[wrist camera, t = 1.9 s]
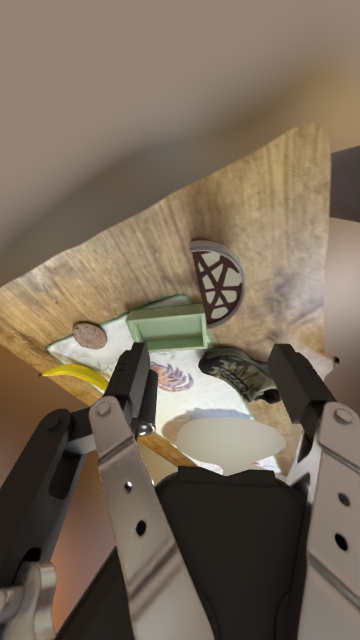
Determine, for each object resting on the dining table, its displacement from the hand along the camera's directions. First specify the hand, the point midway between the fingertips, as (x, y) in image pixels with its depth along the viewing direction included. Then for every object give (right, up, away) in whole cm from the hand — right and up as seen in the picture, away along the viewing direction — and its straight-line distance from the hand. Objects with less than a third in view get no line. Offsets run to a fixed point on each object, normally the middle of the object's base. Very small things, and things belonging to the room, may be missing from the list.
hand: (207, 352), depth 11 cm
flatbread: (-23, -1, +29) cm, 37 cm away
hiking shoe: (+13, -9, +33) cm, 37 cm away
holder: (-4, +1, +27) cm, 27 cm away
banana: (-27, -12, +37) cm, 47 cm away
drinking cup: (-10, -13, +38) cm, 41 cm away
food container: (+4, +12, +18) cm, 22 cm away
